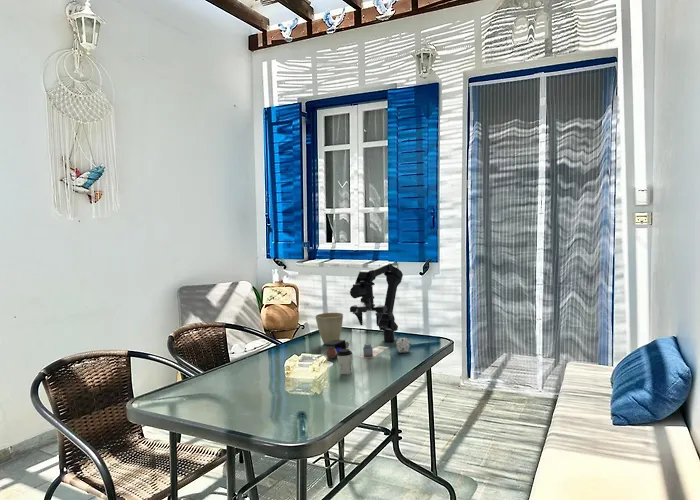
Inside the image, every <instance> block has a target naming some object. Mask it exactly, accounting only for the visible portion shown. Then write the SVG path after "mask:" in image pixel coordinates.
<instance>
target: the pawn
mask: <svg viewBox="0 0 700 500" xmlns="http://www.w3.org/2000/svg"><path fill="white" fill-rule="evenodd" d="M372 349H373V346H372V344H371V343H365V344H364V346H363V347H362V350H363V355H364V357H371V356H373V350H372Z"/></svg>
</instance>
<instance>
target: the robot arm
mask: <svg viewBox="0 0 700 500" xmlns="http://www.w3.org/2000/svg"><path fill="white" fill-rule="evenodd" d="M380 275H384V276H385V277H386V278H385V280H386V281H385V282H386V283H387V290H386V295H385V301H384V305H381V304H380V305H377V306H376V304H374V299H375V296H374V293H373V292H374V290H373V286H375V284H376V283H375V282H374V280H376V278H377V277H378V276H380ZM403 276H404V275H403V272H402V271H401V270H400V269H399V268H398V267H396V266H394V265H393V264H392V263H390V262H389V263H382V264H380V265H378V266H376V267H374V268H371V269H362V270H360V271H359V272H358V274H357V278H356V280H355V282H354V284H352V287H351V288H350V290H349V294H350V296H351V298H352V299H358V298H360V302H358V304H354V305H352V306H350V308H349V312H350V313H352V314H354V316H356V318H357V320H358V322H359V325H360V326H363V313H367V312H369V311H370V312H376V313H375V317H376V318H375V319H376V323H375V324H376V327H378V328H379V329H378V330H379V331H383V340H382V341H381V343H389V344H393V343H396V342H397V340H398V338H397V339H396V337H395V332H397V331H398V330H399V326H398V324H397V323H396V321H395V319H396V318H395V316H394V313H393V311H394V307H395V301H396V295H397V290H398V287H399V285H400V284H401V283H402V280H403Z"/></svg>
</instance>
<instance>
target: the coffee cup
mask: <svg viewBox="0 0 700 500" xmlns="http://www.w3.org/2000/svg"><path fill="white" fill-rule="evenodd" d="M336 357H337V362H338V368H339V373H341V374H340V375H342V374H347V375H350V374H351V373H352V359H353V358H352V357H353V352H352V351H351V350H350V349H349V348H347V349H340V350H339V352H337V354H336Z"/></svg>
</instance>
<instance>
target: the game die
mask: <svg viewBox="0 0 700 500" xmlns="http://www.w3.org/2000/svg"><path fill="white" fill-rule="evenodd" d="M396 338H397V340H396V341H395V345H394V347H396V350H397V352H398V354H400V353H408V354H409V353H410V348H411V346H412V343H410V341H409V339H408V338H409V336H406V337H399V336H396Z"/></svg>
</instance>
